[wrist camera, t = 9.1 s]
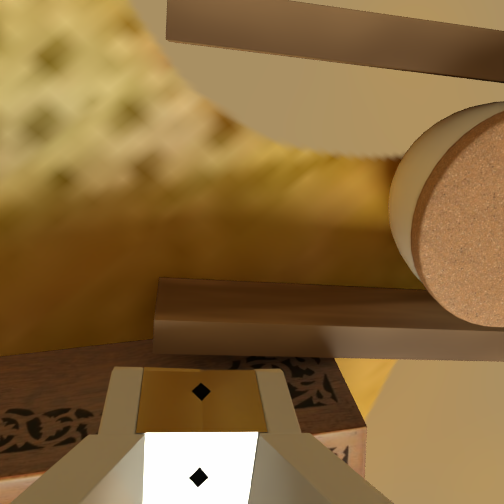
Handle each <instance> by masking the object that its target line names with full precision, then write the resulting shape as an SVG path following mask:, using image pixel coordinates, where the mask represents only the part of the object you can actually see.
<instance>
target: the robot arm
mask: <svg viewBox="0 0 504 504" xmlns="http://www.w3.org/2000/svg"><path fill="white" fill-rule="evenodd" d="M10 504H394V503H393V502H391V501H390V500H389V499H388V498H387V497H385V496H384V495H383V494H382V493H381V492H379V491H378V490H377V489H376V488H375V487H373V486H372V485H371V484H370V483H369V482H367V481H366V480H365V479H364V478H363V477H362V476H360V475H359V474H358V473H357V472H356V471H354V470H353V469H352V468H351V467H350V466H348V465H347V464H346V463H345V462H344V461H343V460H341V459H340V458H339V457H338V456H337V455H335V454H334V453H333V452H332V451H331V450H329V449H328V448H327V447H326V446H325V445H323V444H322V443H321V442H320V441H319V440H318V439H316V438H315V437H314V436H313V435H312V434H310V433H301V429H300V426H299V423H298V419H297V416H296V413H295V409H294V406H293V403H292V399H291V396H290V393H289V389H288V386H287V383H286V379H285V376H284V373H283V371H282V370H281V369H254V370H200V369H184V368H156V367H144V368H142V367H114V369H113V370H112V373H111V377H110V382H109V386H108V391H107V395H106V400H105V404H104V409H103V413H102V418H101V422H100V427H99V431H98V435H88V436H86V437H85V438H84V439H83V440H82V441H81V442H80V443H78V444H77V445H76V446H75V447H74V448H73V449H71V450H70V451H69V452H68V453H67V454H66V455H65V456H63V457H62V458H61V459H60V460H59V461H58V462H57V463H55V464H54V465H53V466H52V467H51V468H50V469H49V470H47V471H46V472H45V473H44V474H43V475H42V476H41V477H39V478H38V479H37V480H36V481H35V482H34V483H33V484H31V485H30V486H29V487H28V488H27V489H26V490H25V491H23V492H22V493H21V494H20V495H19V496H18V497H17V498H15V499H14V500H13V501H12V502H11V503H10Z"/></svg>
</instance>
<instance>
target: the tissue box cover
mask: <svg viewBox="0 0 504 504" xmlns="http://www.w3.org/2000/svg"><path fill="white" fill-rule="evenodd" d="M114 367H142V368H144V367H156V368H184V369H200V370H254V369H281V370H282V371H283V373H284V376H285V379H286V383H287V386H288V389H289V393H290V396H291V399H292V403H293V406H294V409H295V413H296V416H297V419H298V423H299V426H300V429H301V433H310V434H312V435H313V436H314V437H315V438H316V439H318V440H319V441H320V442H321V443H322V444H323V445H325V446H326V447H327V448H328V449H329V450H331V451H332V452H333V453H334V454H335V455H337V456H338V457H339V458H340V459H341V460H343V461H344V462H345V463H346V464H347V465H348V466H350V467H351V468H352V469H353V470H354V471H356V472H357V473H358V474H359V475H360V476H362V477H363V478H364V477H365V455H366V436H367V435H366V434H367V426H366V424H365V422H364V420H363V417H362V415H361V413H360V411H359V409H358V407H357V405H356V403H355V401H354V399H353V397H352V395H351V392H350V390H349V388H348V386H347V384H346V382H345V380H344V378H343V376H342V374H341V372H340V370H339V368H338V365H337V363H336V361H335V359H334V358H324V357H279V356H235V355H190V354H153V339H148V340H139V341H130V342H122V343H113V344H105V345H96V346H87V347H79V348H70V349H62V350H53V351H45V352H36V353H27V354H19V355H10V356H2V357H0V504H10V503H11V502H12V501H13V500H14V499H15V498H17V497H18V496H19V495H20V494H21V493H22V492H23V491H25V490H26V489H27V488H28V487H29V486H30V485H31V484H33V483H34V482H35V481H36V480H37V479H38V478H39V477H41V476H42V475H43V474H44V473H45V472H46V471H47V470H49V469H50V468H51V467H52V466H53V465H54V464H55V463H57V462H58V461H59V460H60V459H61V458H62V457H63V456H65V455H66V454H67V453H68V452H69V451H70V450H71V449H73V448H74V447H75V446H76V445H77V444H78V443H80V442H81V441H82V440H83V439H84V438H85V437H86V436H88V435H98V431H99V427H100V422H101V418H102V413H103V409H104V404H105V400H106V395H107V391H108V386H109V382H110V377H111V373H112V370H113V369H114Z"/></svg>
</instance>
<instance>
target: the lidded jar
mask: <svg viewBox="0 0 504 504" xmlns="http://www.w3.org/2000/svg"><path fill="white" fill-rule="evenodd" d="M388 210H389V223H390V227H391V232H392V235H393V238H394V240H395V243H396V245H397V247H398V250H399V252H400V254H401V256H402V257H403V259H404V260H405V262H406V263H407V265H408V266H409V268H410V269H411V271H412V272H413V273H414V275H415V276H416V277H417V278H418V279H419V280H420V281H421V282H422V283H423V285H424V286H425V288H426V289H427V291H428V292H429V293H430V294H431V296H432V297H433V298H434V299H435V300H436V301H437V302H438V303H439V304H440V305H441V306H442V307H444V308H445V309H446V310H447V311H449V312H450V313H452V314H453V315H455V316H456V317H458V318H460V319H463V320H465V321H467V322H470V323H473V324H478V325H482V326H490V327H504V102H493V103H488V104H483V105H478V106H474V107H469V108H467V109H464V110H461V111H458V112H456V113H454V114H452V115H450V116H448V117H446V118H444V119H443V120H441V121H439V122H438V123H436V124H435V125H433V126H432V127H431V128H429V129H428V130H427V131H425V132H424V133H423V134H422V135H421V136H420V137H419V138H418V139H417V140H416V141H415V142H414V143H413V144H412V146H411V147H410V148H409V150H408V151H407V152H406V153H405V155H404V157H403V158H402V160H401V162H400V163H399V165H398V167H397V170H396V172H395V175H394V177H393V180H392V184H391V188H390V193H389V203H388Z"/></svg>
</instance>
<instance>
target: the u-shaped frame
mask: <svg viewBox="0 0 504 504" xmlns="http://www.w3.org/2000/svg"><path fill="white" fill-rule="evenodd" d="M166 40H168V41H169V42H175V43H185V44H192V45H200V46H208V47H217V48H224V49H232V50H241V51H249V52H257V53H265V54H273V55H281V56H289V57H297V58H305V59H313V60H322V61H329V62H337V63H346V64H354V65H362V66H370V67H378V68H387V69H394V70H402V71H411V72H419V73H427V74H434V75H443V76H451V77H459V78H467V79H475V80H483V81H491V82H499V83H504V31H499V30H492V29H485V28H478V27H470V26H464V25H457V24H450V23H443V22H436V21H429V20H422V19H414V18H408V17H401V16H393V15H386V14H379V13H373V12H366V11H359V10H352V9H344V8H337V7H330V6H324V5H316V4H310V3H302V2H296V1H289V0H167V23H166ZM153 354H190V355H235V356H279V357H324V358H369V359H416V360H458V361H463V360H464V361H503V362H504V327H490V326H482V325H478V324H473V323H470V322H467V321H465V320H463V319H460V318H458V317H456V316H455V315H453V314H452V313H450V312H449V311H447V310H446V309H445V308H444V307H442V306H441V305H440V304H439V303H438V302H437V301H436V300H435V299H434V298H433V297H432V296H431V294H430V293H429V292H428V291H427V290H417V289H396V288H374V287H353V286H332V285H311V284H289V283H268V282H247V281H226V280H204V279H183V278H162V277H159V283H158V292H157V300H156V308H155V316H154V333H153Z"/></svg>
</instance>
